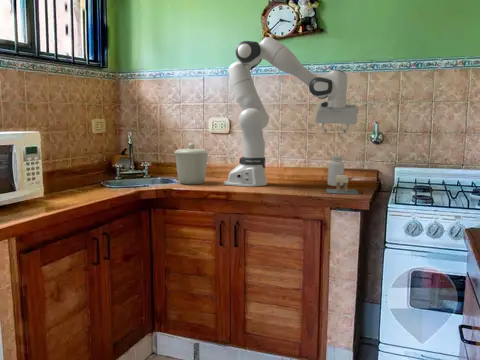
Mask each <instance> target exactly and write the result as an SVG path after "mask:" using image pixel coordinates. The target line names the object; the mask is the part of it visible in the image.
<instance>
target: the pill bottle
mask: <svg viewBox="0 0 480 360" xmlns="http://www.w3.org/2000/svg"><path fill="white" fill-rule="evenodd" d="M327 169H328V171H327V185H328V186H331V187H336V185H337V181H336V175H344V173H345V163H344V162H343V157H342V156H338V155H332V156H331V161H329V162H328V168H327ZM342 186H343V187H344V183H340V187H342Z"/></svg>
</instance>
